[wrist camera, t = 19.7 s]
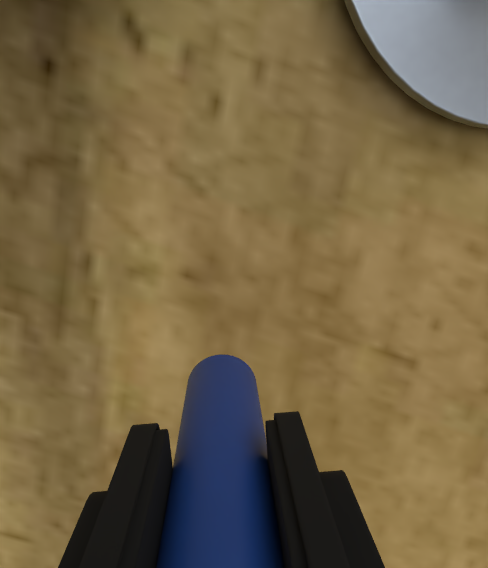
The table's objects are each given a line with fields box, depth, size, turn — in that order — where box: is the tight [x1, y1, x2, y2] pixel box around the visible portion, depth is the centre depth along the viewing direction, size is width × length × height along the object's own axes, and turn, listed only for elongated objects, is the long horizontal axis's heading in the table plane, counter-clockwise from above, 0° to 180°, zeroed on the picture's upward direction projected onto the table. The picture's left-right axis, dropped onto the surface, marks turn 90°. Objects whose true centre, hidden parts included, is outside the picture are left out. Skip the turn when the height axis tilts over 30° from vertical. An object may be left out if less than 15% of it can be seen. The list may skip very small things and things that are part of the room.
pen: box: [156, 355, 285, 568], centre depth 7 cm, size 2×2×12 cm
